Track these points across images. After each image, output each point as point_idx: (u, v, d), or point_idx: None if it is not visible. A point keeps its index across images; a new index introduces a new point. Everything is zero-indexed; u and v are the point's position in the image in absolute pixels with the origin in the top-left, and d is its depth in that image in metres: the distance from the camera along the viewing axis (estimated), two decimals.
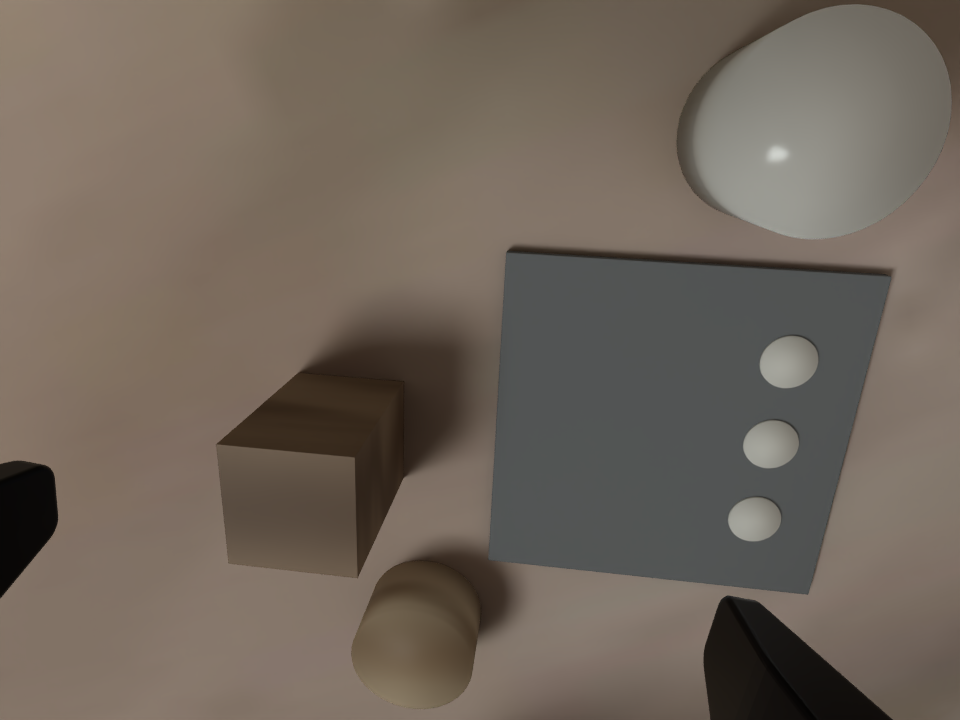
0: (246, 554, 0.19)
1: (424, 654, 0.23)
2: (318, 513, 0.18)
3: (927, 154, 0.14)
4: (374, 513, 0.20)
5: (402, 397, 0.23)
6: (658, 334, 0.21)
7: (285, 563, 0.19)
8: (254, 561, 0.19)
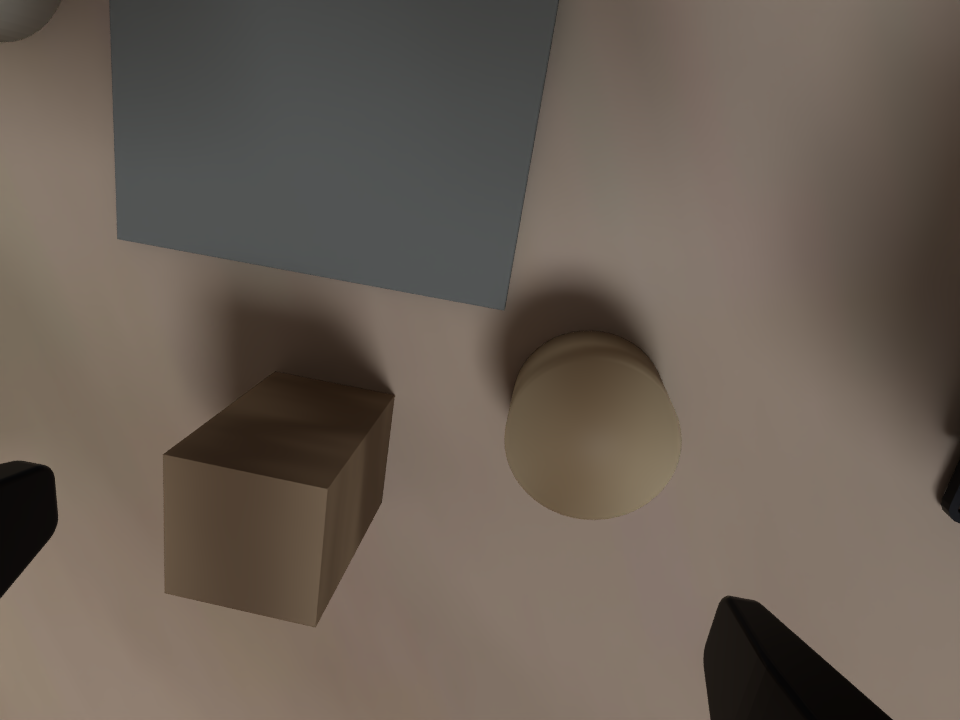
0: (301, 604, 0.15)
1: (580, 424, 0.16)
2: (239, 511, 0.15)
3: None
4: (316, 444, 0.16)
5: (287, 376, 0.20)
6: (192, 64, 0.17)
7: (312, 566, 0.15)
8: (311, 599, 0.15)
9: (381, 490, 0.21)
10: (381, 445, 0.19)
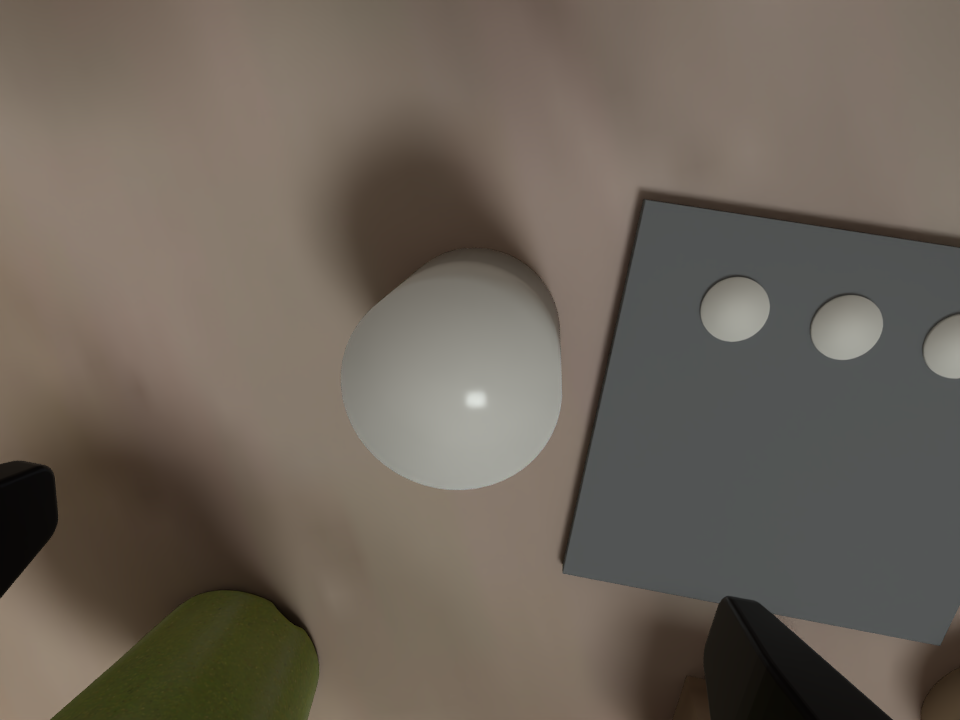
0: None
1: None
2: None
3: (483, 299, 0.13)
4: None
5: (703, 684, 0.21)
6: (674, 443, 0.19)
7: None
8: None
9: None
10: None
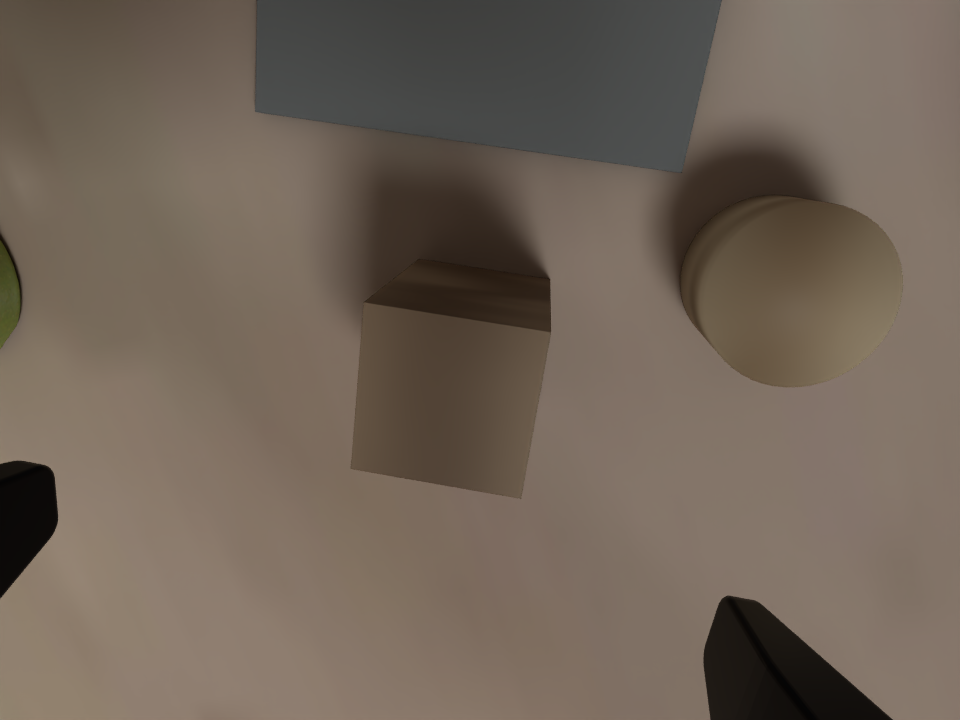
0: (507, 472, 0.14)
1: (790, 277, 0.15)
2: (446, 366, 0.13)
3: None
4: (508, 304, 0.15)
5: (434, 262, 0.19)
6: None
7: (523, 426, 0.14)
8: (519, 465, 0.14)
9: None
10: None
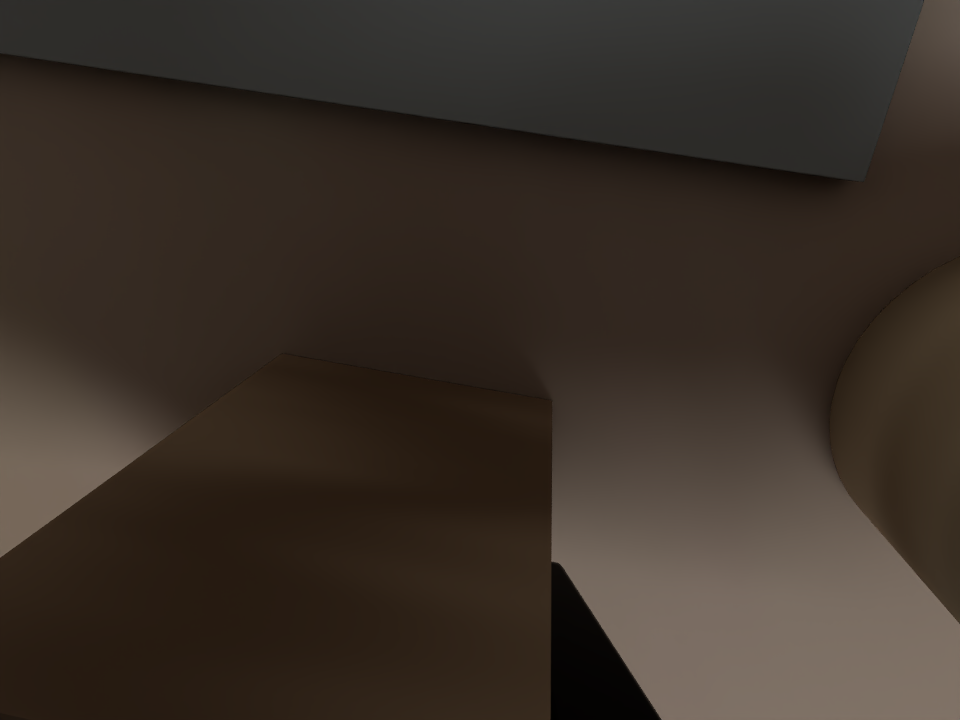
0: None
1: None
2: None
3: None
4: (428, 566, 0.05)
5: (310, 365, 0.09)
6: None
7: None
8: None
9: None
10: None
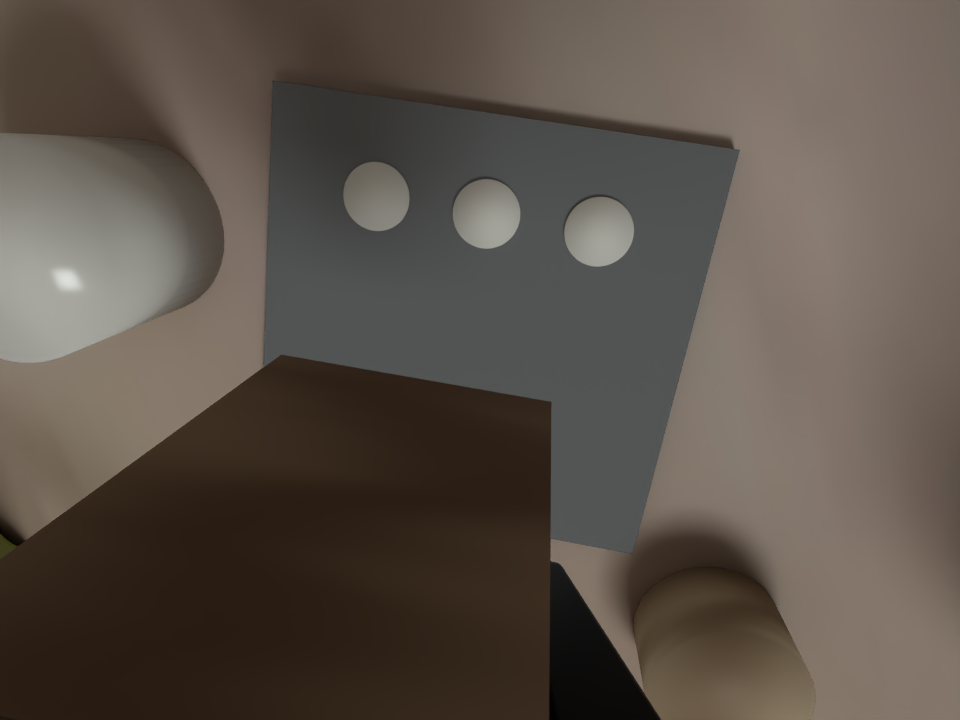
0: None
1: (719, 684, 0.17)
2: None
3: (9, 151, 0.13)
4: (427, 568, 0.05)
5: (309, 366, 0.09)
6: (343, 342, 0.18)
7: None
8: None
9: None
10: None
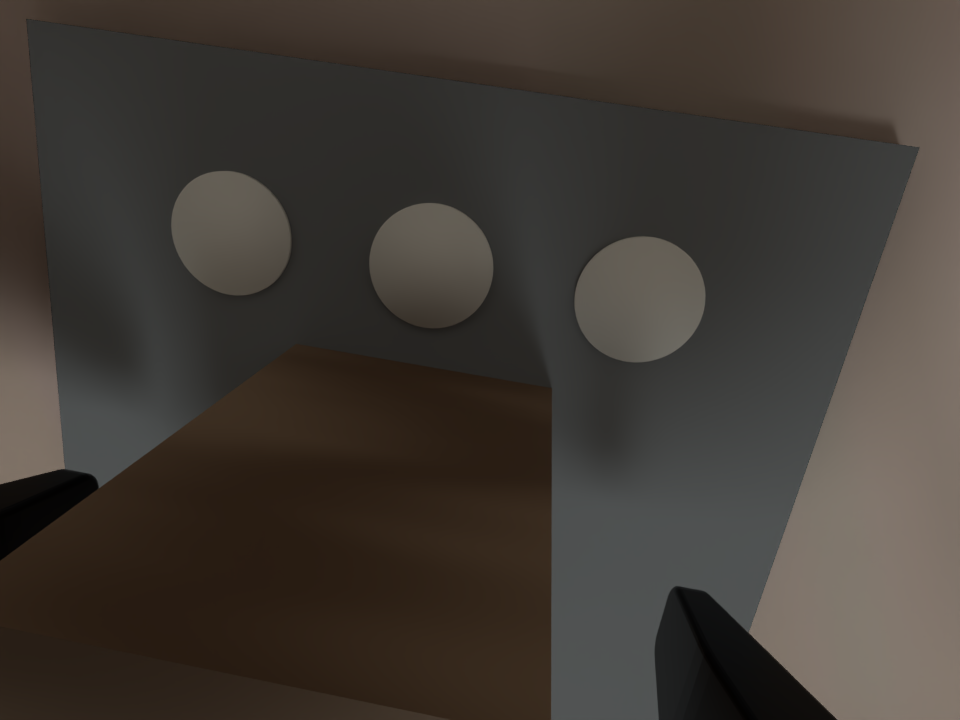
0: None
1: None
2: None
3: None
4: (440, 529, 0.06)
5: (323, 354, 0.09)
6: None
7: None
8: None
9: None
10: None
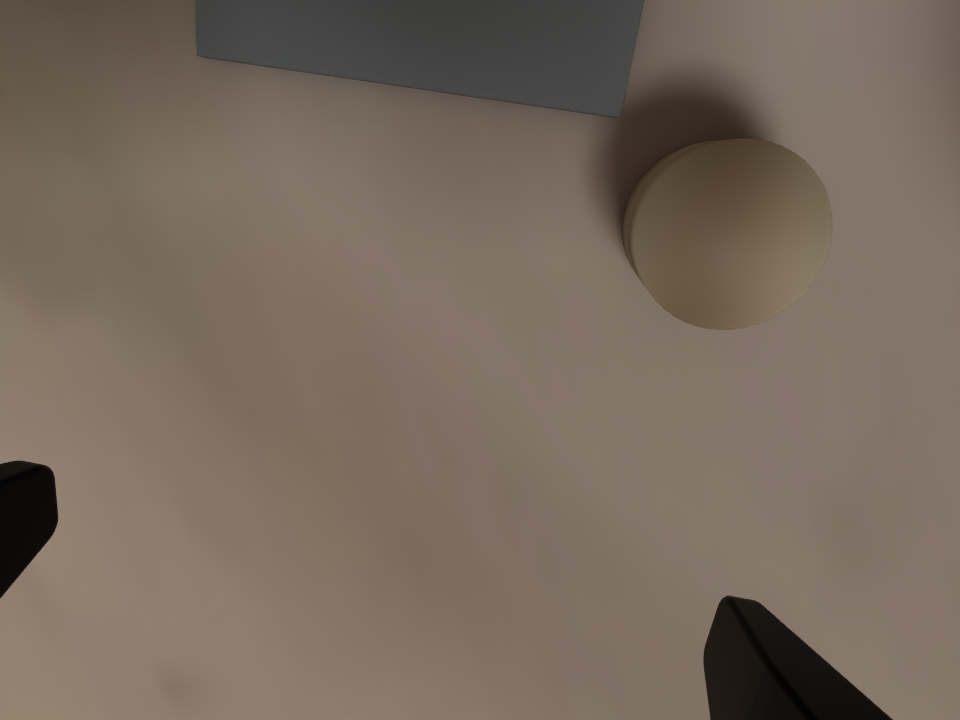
0: None
1: (720, 215, 0.15)
2: None
3: None
4: None
5: None
6: None
7: None
8: None
9: None
10: None
